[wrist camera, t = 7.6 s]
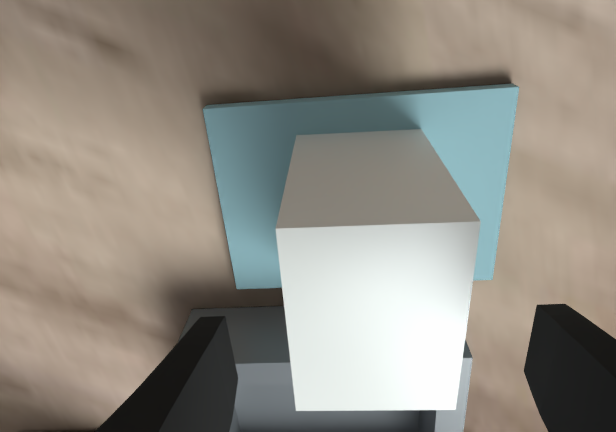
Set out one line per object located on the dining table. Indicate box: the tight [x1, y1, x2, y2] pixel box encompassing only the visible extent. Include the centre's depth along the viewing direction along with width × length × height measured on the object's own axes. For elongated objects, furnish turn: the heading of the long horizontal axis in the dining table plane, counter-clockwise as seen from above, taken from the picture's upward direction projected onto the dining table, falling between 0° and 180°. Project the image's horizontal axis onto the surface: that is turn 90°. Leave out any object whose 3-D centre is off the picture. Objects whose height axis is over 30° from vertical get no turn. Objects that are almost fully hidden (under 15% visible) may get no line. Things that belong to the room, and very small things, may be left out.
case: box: [178, 306, 473, 432], centre depth 21 cm, size 12×10×4 cm
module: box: [275, 129, 481, 411], centre depth 14 cm, size 4×6×7 cm
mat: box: [203, 84, 519, 289], centre depth 17 cm, size 11×8×1 cm
